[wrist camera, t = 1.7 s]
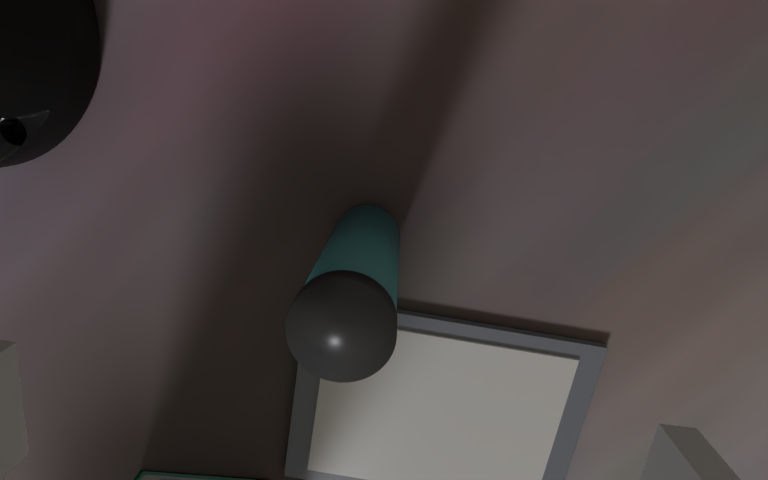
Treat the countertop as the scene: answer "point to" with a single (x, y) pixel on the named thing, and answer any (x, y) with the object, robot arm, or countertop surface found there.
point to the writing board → (449, 407)
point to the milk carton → (178, 476)
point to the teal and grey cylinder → (349, 300)
